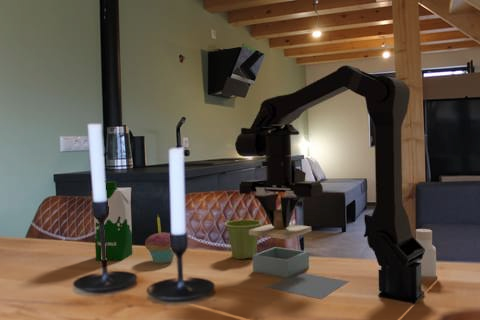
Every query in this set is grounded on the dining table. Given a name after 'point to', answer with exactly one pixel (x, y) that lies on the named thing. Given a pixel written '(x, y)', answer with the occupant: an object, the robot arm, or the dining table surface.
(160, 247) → the cupcake
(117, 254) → the milk carton
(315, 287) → the mat
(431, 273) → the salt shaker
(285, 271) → the open box
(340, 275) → the dining table surface
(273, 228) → the lid
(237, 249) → the plant pot
